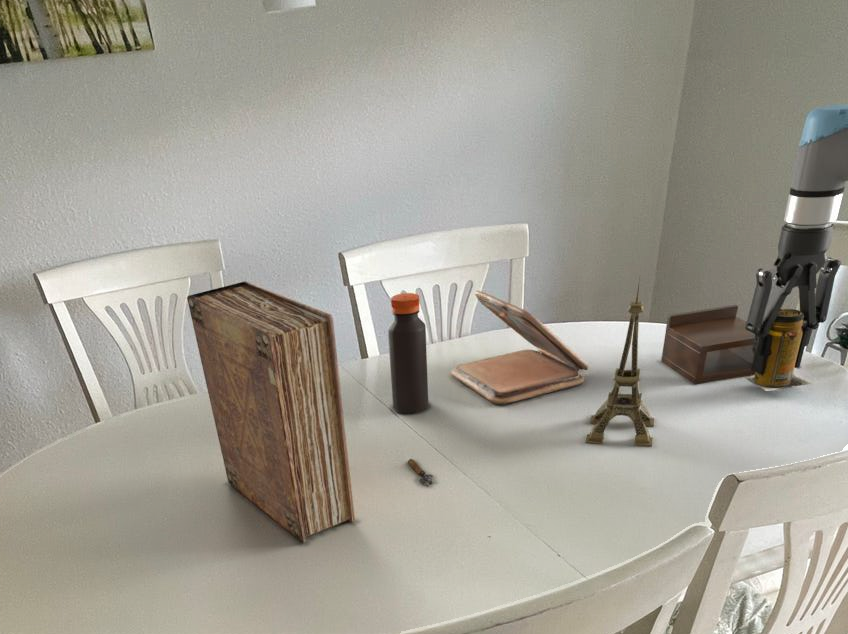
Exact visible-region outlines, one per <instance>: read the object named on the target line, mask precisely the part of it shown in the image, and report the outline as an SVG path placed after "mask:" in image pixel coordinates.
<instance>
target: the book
mask: <svg viewBox="0 0 848 634" xmlns="http://www.w3.org/2000/svg"><path fill="white" fill-rule="evenodd" d="M186 299H187V305H188V309H189V312H190V317H191V323H192V326H193V331H194V336H195V340H196V344H197V348H198V354H199V357H200V363H201V367H202V371H203V376H204V379H205V385H206V389H207V392H208V398H209V402H210V407H211V410H212V416H213V420H214V424H215V429H216V433H217V438H218V442H219V447H220V450H221V456H222V460H223V464H224V470H225V473H226V478H227V482H228V484H229V485H230V486H232V487H233V488H234V489H235V490H236V491H237V492H238V493H240V494H241V495H243V497H245V498H247V500H249V501H250V502H251V503H252V504H253V505H254V506H256V507H257V508H258V509H259V510H260V511H262V512H263V513H264V514H266V515H267V516H268V517H269V518H270V519H271V520H273V521H274V522H275V523H277V524H278V525H279V526H280V527H281V528H283V529H284V530H285V531H286V532H287V533H289V534H290V535H291V536H292V537H293V538H295V540H297V541H298V542H300V543H301V544H302V545H304V544H306V542H307V540H306V538H307V537H308V538H309V537H310V536H313V535H315V534H317V533H320V532H323V531H324V530H327V529H330V528H332V527H334V526H337V525H340V524H343V523H344V522H347V521H348V522H350V523H354V522H355V521H356V519H355V518H356V517H355V510H354V499H353V491H352V481H351V471H350V462H349V453H348V445H347V436H346V435H347V434H346V426H345V417H344V409H343V399H342V398H343V397H342V390H341V389H342V388H341V380H340V379H341V378H340V372H339V361H338V353H337V352H338V351H337V344H336V333H335V326H334V325H335V323H334V318H333V315H332V314H331V313H328V312H326V311H323V310H320V309H318V308H316V307H312V306H310V305H308V304H304V303H302V302H300V301H297V300H294V299H292V298H289V297H287V296H284V295H281V294H279V293H276V292H274V291H271V290H269V289H267V288H264V287H261V286H258V285H256V284H253V283H250V282H248V281H240V282H236V283H233V284H229V285H225V286H220V287H217V288H213V289H210V290H206V291H202V292H197V293H194V294H190V295H188V296H187V297H186Z"/></svg>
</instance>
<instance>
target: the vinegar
mask: <svg viewBox="0 0 848 634" xmlns="http://www.w3.org/2000/svg"><path fill="white" fill-rule="evenodd" d="M390 303H391V304H390V305H391V312H392V316H393V319H392V321H391V322H390V323H389V324H388V327H387V336H388V337H387V338H388V340H387V341H388V352H389V353H388V354H389V366H390V369H389V370H390V381H391V382H390V383H391V396H392V397H391V398H392V408H393V409H394V410H395V412H397V413H400V414H405V415H406V414H408V415H409V414H417V413H420V412H423V411H425V410H426V409H428V407H429V382H428V381H429V380H428V379H429V378H428V357H427V355H428V354H427V353H428V352H427V333H426V332H427V331H426V328H427V327H426V324H425V323H426V322H424V321H423V320H422V319H421V318H420V317H419V313H420V295H419V294H417V293H413V292H404V293H403V292H402V293H397V294H394V295H393V296H391V298H390Z"/></svg>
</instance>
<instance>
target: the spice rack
mask: <svg viewBox="0 0 848 634" xmlns="http://www.w3.org/2000/svg"><path fill="white" fill-rule="evenodd" d="M738 310H739V305H737V304H731V305H725V306H719V307H718V306H717V307H712V308H711V307H710V308H706V309H699V310H692V311H686V312H679V313H673V314H668V315H667V318H666V319H667V321H666V327H665V334H664V341H663V347H662V352H661V353H662V354H661V359H660V363H663V364H664V365H665V366H666V367H668V368H670V369H671V370H672V371H674V372H676V373H677V374H678V375H680V376H681V377H683V378H684V379H686V380H687V381H689V382H690V383H692V384H693V385H699V384H705V383H712V382H718V381H723V380H724V381H725V380H730V379H736V378H744V377H750V376H755V371H753V370H752V369H751V368H752V363H753V359H754V354H755V353H753V352H752V347H753V342H754V338H755V334H754V333H752V332H750V331H748V330H746V328H745V327H746V323H747V320H746V321H745V320H743V319H742V318H739V317H738V316H737V314H738Z"/></svg>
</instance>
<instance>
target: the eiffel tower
mask: <svg viewBox="0 0 848 634" xmlns="http://www.w3.org/2000/svg"><path fill="white" fill-rule="evenodd" d="M640 281H641V276H639V279H638V283H640ZM639 292H640V284H638V285H637V291H636V296H635V301H630V302H629V303H630V304H629V306H628V308H627V313H630V319H629V323H628V328H627V331H626V332H627V333H626V337H625V342H624V346H623V350H622V355H621V359H620V363H619V367H616V369H615V371H614V375H613V381H614V385H613V388H612V390H611V391H608V396H607V399H606V400H605V401H604V402H603V403H602V404H601V405H600V407H599V408H598V409H597V411H596V413H595V414H592V415H591V416H590V420H589V424H593V425H594V426H593V427H592V429H591V431H590V432H589V433H587V434H586V437H585V438H586V439H585V444H597V445H599V444H600V445H603V443H604V437H605V433H604V432H605V430H606V429H607V427H608V425H609V423H610V421H611V420H612V419H613V418H615V417H619V416H624V417H628V418H629V419H630V420H631V421H632V422H633V425H634V432H635V435H634V444H633V446H635V447H636V446H637V447H652V446H653V437H652V436H651V434H650V431H649V430H648V428H647V427H654V424H655V417H652V416H651V414H650V412H649V410H648V408H647V406H646V405H645V403H644V402H643V400H642V397H643V393H642V392H640V388H639V382H640V381H641V373H642V372H641V368H638V364H639V328H640V327H639V325H640V314H641V313H643V312H644V306H643V304H644V302H643V301H639ZM630 348H631V369H626V365H627V362H628V358H629V353H630ZM623 387H627V388H628V387H629V388H631V393H620V388H623Z"/></svg>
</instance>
